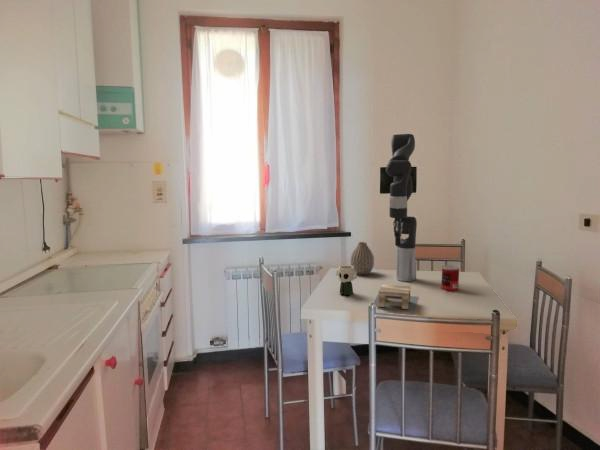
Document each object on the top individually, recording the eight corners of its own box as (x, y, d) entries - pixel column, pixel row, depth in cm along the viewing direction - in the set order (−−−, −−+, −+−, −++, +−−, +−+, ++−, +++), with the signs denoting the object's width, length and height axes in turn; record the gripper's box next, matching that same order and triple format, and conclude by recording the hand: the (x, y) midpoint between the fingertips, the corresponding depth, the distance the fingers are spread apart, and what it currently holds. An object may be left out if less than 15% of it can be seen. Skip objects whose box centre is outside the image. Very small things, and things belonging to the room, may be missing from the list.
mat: (378, 294, 206) (378, 293, 206) (418, 297, 200) (418, 296, 200) (370, 309, 184) (370, 308, 184) (415, 313, 179) (415, 312, 179)
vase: (348, 271, 253) (348, 240, 251) (371, 270, 254) (371, 240, 252) (352, 276, 240) (352, 244, 238) (376, 276, 241) (377, 244, 239)
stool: (410, 301, 193) (407, 310, 181) (382, 299, 196) (378, 307, 185) (410, 286, 192) (408, 293, 180) (382, 284, 195) (378, 291, 184)
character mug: (332, 294, 208) (332, 266, 206) (340, 290, 213) (340, 264, 211) (352, 298, 201) (352, 269, 199) (360, 294, 206) (360, 267, 205)
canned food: (459, 288, 216) (459, 265, 214) (457, 292, 208) (458, 269, 207) (442, 286, 219) (443, 264, 217) (440, 290, 212) (441, 268, 210)
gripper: (391, 204, 201) (390, 242, 203) (387, 208, 188) (387, 248, 191) (408, 204, 198) (407, 242, 201) (406, 208, 186) (405, 249, 189)
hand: (397, 245), depth 196 cm, fingers closed
